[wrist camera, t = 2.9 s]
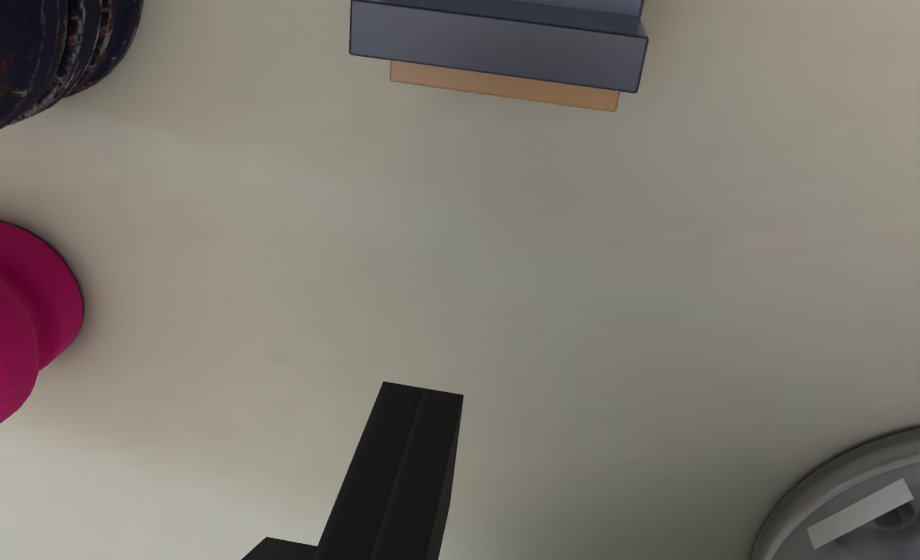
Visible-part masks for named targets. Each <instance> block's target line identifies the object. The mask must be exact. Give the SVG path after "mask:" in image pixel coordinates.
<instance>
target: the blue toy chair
mask: <svg viewBox="0 0 920 560" xmlns="http://www.w3.org/2000/svg"><path fill="white" fill-rule="evenodd" d="M643 4H644V0H351V9H350V39H349V53H350V54H351V55H355V56H362V57H369V58H377V59H384V60H391V69H390V81H392V82H400V83H407V84H414V85H421V86H429V87H436V88H443V89H450V90H458V91H465V92H472V93H479V94H487V95H494V96H501V97H508V98H516V99H523V100H530V101H537V102H545V103H552V104H559V105H566V106H574V107H581V108H588V109H595V110H603V111H610V112H615V111H616V109H617V104H618V99H619V94H620V92H627V93H634V94H635V93H637V92H638V89H639V84H640V79H641V74H642V70H643V65H644V60H645V55H646V50H647V46H648V41H649V39H648V36H647V33H646V31H645V28H644V26H643V23H642V21H641V19H640V18H641V13H642V8H643Z"/></svg>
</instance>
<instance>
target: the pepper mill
mask: <svg viewBox="0 0 920 560" xmlns="http://www.w3.org/2000/svg"><path fill="white" fill-rule="evenodd" d="M82 320H83V306H82V298H81V295H80V291H79V288H78V285H77V282H76V280H75V278H74V277H73V275H72V274H71V272H70V270H69V269H68V267H67V266H66V264H65V263H64V261H63V260H62V259H61V258H60V257H59V256H58V255H57V254H56V253H55V252H54V251H53V250H52V249H51V248H50V247H49V246H48V245H47V244H46V243H44V242H43V241H41V240H40V239H38V238H37V237H35V236H34V235H32V234H31V233H29V232H28V231H25V230H23V229H20V228H18V227H15V226H13V225H10V224H6V223H2V222H0V423H2V422H3V421H4V420H6V419H7V418H8V417H9V416H11V415H12V414H13V413H14V412H16V411H17V410H18V409H19V408H20V407H21V406H22V404H23V403H24V402H25V401H26V399H27V398H28V397H29V395H30V394H31V392H32V389H33V387H34V385H35V382H36V378H37V375H38V371H39V370H41V369H42V368H44V367H45V366H47V365H48V364H49V363H50V362H51V361H52V360H54V359H55V358H56V357H57V356H58V355H59V354H60V353H61V352H62V351H63V350H65V349H66V348H67V347H68V346H69V345H70V344H71V343H72V342H73V340H74V339H75V338H76V336H77V335H78V333H79V331H80V328H81V324H82Z"/></svg>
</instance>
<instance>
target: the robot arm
mask: <svg viewBox="0 0 920 560" xmlns="http://www.w3.org/2000/svg"><path fill="white" fill-rule="evenodd" d="M463 396H464V395H461V394H455V393H449V392H443V391H437V390H431V389H425V388H419V387H413V386H407V385H401V384H395V383H389V382H383V384H382V386H381V389H380V391H379V394H378V396H377V399H376V401H375V404H374V406H373V409H372V411H371V414H370V416H369V419H368V421H367V424H366V426H365V429H364V431H363V434H362V436H361V439H360V441H359V444H358V446H357V449H356V451H355V454H354V456H353V459H352V461H351V464H350V466H349V469H348V471H347V474H346V476H345V479H344V481H343V484H342V486H341V489H340V491H339V494H338V496H337V499H336V501H335V504H334V506H333V509H332V511H331V514H330V516H329V519H328V521H327V524H326V526H325V529H324V531H323V534H322V536H321V539H320V541H319V544H318V546H312V545H307V544H302V543H296V542H291V541H286V540H280V539H275V538H270V537H266V538H265V539H264V540H262V541H261V542H260V543H259V544H258V545H257V546H256V547H255V548H254V549H252V550H251V551H250V552H249V553H248V554H247V555H246V556H245V557H244V558H243V559H241V560H438V557H439V553H440V548H441V543H442V539H443V534H444V530H445V525H446V520H447V516H448V511H449V506H450V499H451V491H452V483H453V475H454V467H455V459H456V451H457V444H458V436H459V428H460V420H461V412H462V404H463ZM751 560H920V428H918V429H914V430H909V431H905V432H901V433H897V434H894V435H891V436H888V437H885V438H881V439H878V440H875V441H873V442H870V443H868V444H865V445H863V446H860V447H858V448H856V449H854V450H852V451H849V452H847V453H845V454H843V455H841V456H839V457H837V458H836V459H834V460H832V461H831V462H829V463H827V464H826V465H824V466H822V467H821V468H819V469H818V470H816V471H815V472H814V473H812V474H811V475H809V476H808V477H807V478H805V479H804V480H803V481H802V482H800V483H799V484H798V485H797V486H796V487H795V488H793V489H792V490H791V491H790V492H789V493H788V494H787V495H786V496H785V497H784V499H783V500H782V501H781V502H780V503H779V504H778V505H777V507H776V508H775V509H774V510H773V512H772V513H771V514H770V516H769V517H768V519H767V520H766V522H765V524H764V525H763V527H762V529H761V531H760V533H759V535H758V537H757V540H756V542H755V545H754V548H753V551H752V555H751Z"/></svg>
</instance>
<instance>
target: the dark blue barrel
mask: <svg viewBox="0 0 920 560" xmlns="http://www.w3.org/2000/svg"><path fill="white" fill-rule="evenodd" d="M142 3H143V0H0V129H2V128H4V127H6V126H8V125H11V124H15V123H17V122H19V121H22V120H24V119H27V118H29V117H31V116H34V115H36V114H38V113H40V112H42V111H44V110H46V109H48V108H50V107H52V106H53V105H54V104H56V103H57V102H58V101H60V100H61V99H62V98H65V97H68V96H72V95H74V94H76V93H79V92H81V91H83V90H85V89H87V88H89V87H91V86H93V85H95V84H97V83H98V82H99V81H101V80H102V79H103V78H104V77H106V76H107V75H108V74H110V73H111V72H112V70H113V69H114V68H115V67H116V66H117V64H118V63H119V62H120V61H121V60H122V59H123V57H124V55H125V53H126V52H127V50H128V48H129V46H130V45H131V43H132V41H133V38H134V35H135V32H136V30H137V27H138V24H139V21H140V15H141V9H142Z"/></svg>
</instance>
